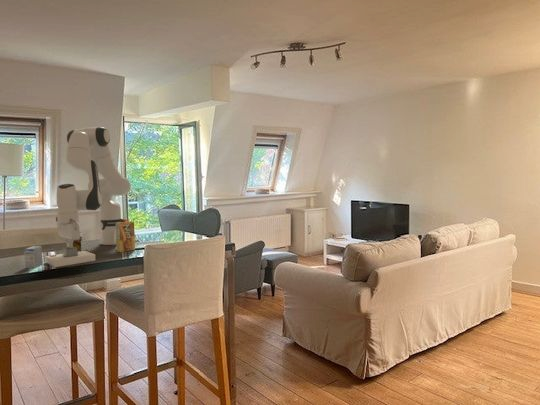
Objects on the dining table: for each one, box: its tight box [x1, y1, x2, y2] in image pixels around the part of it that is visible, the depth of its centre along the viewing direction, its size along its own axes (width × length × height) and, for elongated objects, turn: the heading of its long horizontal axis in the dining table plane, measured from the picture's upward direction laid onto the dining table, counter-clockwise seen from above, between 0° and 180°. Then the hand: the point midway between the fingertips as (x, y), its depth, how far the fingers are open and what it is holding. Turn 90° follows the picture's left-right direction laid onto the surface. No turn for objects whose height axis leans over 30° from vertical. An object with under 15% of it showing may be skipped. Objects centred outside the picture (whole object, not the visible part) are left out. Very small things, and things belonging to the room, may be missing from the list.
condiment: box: [73, 235, 82, 252], centre depth 223 cm, size 7×8×12 cm
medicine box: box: [23, 245, 44, 269], centre depth 195 cm, size 8×4×9 cm, turn 5°
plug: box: [62, 246, 78, 257], centre depth 203 cm, size 5×5×6 cm
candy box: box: [116, 220, 136, 253], centre depth 227 cm, size 9×4×15 cm, turn 142°
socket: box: [45, 250, 96, 268], centre depth 203 cm, size 18×14×3 cm
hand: (69, 247), depth 203 cm, fingers closed
